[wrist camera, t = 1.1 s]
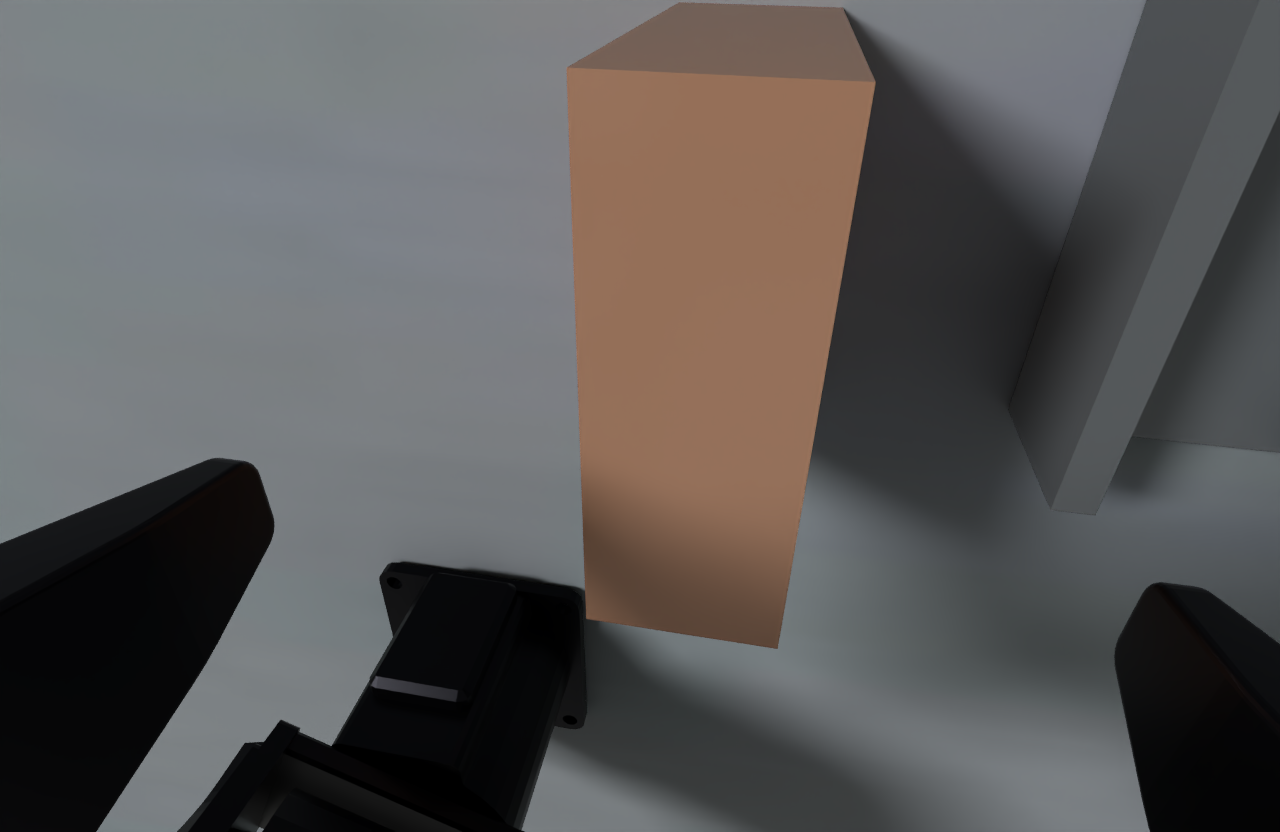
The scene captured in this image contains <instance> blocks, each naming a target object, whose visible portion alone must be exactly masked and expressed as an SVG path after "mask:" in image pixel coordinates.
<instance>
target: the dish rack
mask: <svg viewBox="0 0 1280 832" xmlns="http://www.w3.org/2000/svg"><path fill="white" fill-rule="evenodd" d="M1008 410H1009V413H1010V415H1011V418H1012V420H1013V422H1014V425H1015V427H1016V429H1017V432H1018V434H1019V437H1020V439H1021V441H1022V444H1023V446H1024V448H1025V451H1026V453H1027V456H1028V458H1029V460H1030V463H1031V465H1032V467H1033V470H1034V472H1035V475H1036V477H1037V479H1038V482H1039V484H1040V486H1041V489H1042V491H1043V494H1044V496H1045V498H1046V501H1047V503H1048V505H1049V508H1050V510H1055V511H1063V512H1071V513H1079V514H1087V515H1096V513H1097V511H1098V509H1099V506H1100V504H1101V502H1102V500H1103V498H1104V496H1105V493H1106V491H1107V489H1108V487H1109V485H1110V482H1111V480H1112V478H1113V476H1114V474H1115V471H1116V469H1117V467H1118V465H1119V463H1120V460H1121V458H1122V456H1123V454H1124V452H1125V449H1126V447H1127V445H1128V443H1129V441H1130V438H1131V437H1139V438H1149V439H1158V440H1167V441H1177V442H1186V443H1195V444H1205V445H1214V446H1223V447H1233V448H1242V449H1251V450H1260V451H1270V452H1279V453H1280V0H1147V1H1146V4H1145V7H1144V10H1143V13H1142V16H1141V19H1140V21H1139V24H1138V27H1137V30H1136V33H1135V36H1134V39H1133V42H1132V45H1131V48H1130V51H1129V54H1128V57H1127V60H1126V63H1125V66H1124V69H1123V72H1122V75H1121V78H1120V81H1119V84H1118V87H1117V90H1116V92H1115V95H1114V98H1113V101H1112V104H1111V107H1110V110H1109V113H1108V116H1107V119H1106V122H1105V125H1104V128H1103V131H1102V134H1101V137H1100V140H1099V143H1098V146H1097V149H1096V152H1095V155H1094V158H1093V161H1092V163H1091V166H1090V169H1089V172H1088V175H1087V178H1086V181H1085V184H1084V187H1083V190H1082V193H1081V196H1080V199H1079V202H1078V205H1077V208H1076V211H1075V214H1074V217H1073V220H1072V223H1071V226H1070V229H1069V232H1068V234H1067V237H1066V240H1065V243H1064V246H1063V249H1062V252H1061V255H1060V258H1059V261H1058V264H1057V267H1056V270H1055V273H1054V276H1053V279H1052V282H1051V285H1050V288H1049V291H1048V294H1047V297H1046V300H1045V303H1044V305H1043V308H1042V311H1041V314H1040V317H1039V320H1038V323H1037V326H1036V329H1035V332H1034V335H1033V338H1032V341H1031V344H1030V347H1029V350H1028V353H1027V356H1026V359H1025V362H1024V365H1023V368H1022V371H1021V374H1020V376H1019V379H1018V382H1017V385H1016V388H1015V391H1014V394H1013V397H1012V400H1011V403H1010V406H1009V409H1008Z"/></svg>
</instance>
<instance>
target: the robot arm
mask: <svg viewBox="0 0 1280 832" xmlns="http://www.w3.org/2000/svg"><path fill="white" fill-rule="evenodd" d="M273 533H274V518H273V514H272V511H271V508H270V505H269V502H268V499H267V496H266V493H265V490H264V486H263V483H262V480H261V477H260V474H259V472H258V470H257V469H256V468H255V467H254V465H253V464H251V463H249V462H246V461H240V460H232V459H225V458H213V459H209V460H206V461H204V462H201V463H199V464H196V465H194V466H191V467H189V468H186V469H184V470H181V471H179V472H177V473H174V474H172V475H169V476H167V477H164V478H162V479H159V480H157V481H154V482H152V483H149V484H147V485H144V486H142V487H139V488H137V489H135V490H132V491H130V492H127V493H125V494H122V495H120V496H117V497H115V498H112V499H110V500H107V501H105V502H102V503H100V504H97V505H95V506H92V507H90V508H88V509H85V510H83V511H80V512H78V513H75V514H73V515H70V516H68V517H65V518H63V519H60V520H58V521H55V522H53V523H50V524H48V525H46V526H43V527H41V528H38V529H36V530H33V531H31V532H28V533H26V534H23V535H21V536H18V537H16V538H13V539H11V540H8V541H6V542H4V543H1V544H0V832H96V831H97V830H98V828H99V827H100V825H101V824H102V822H103V821H104V819H105V818H106V816H107V815H108V813H109V812H110V810H111V809H112V807H113V805H114V804H115V802H116V801H117V799H118V798H119V796H120V795H121V793H122V792H123V790H124V789H125V787H126V786H127V784H128V783H129V781H130V780H131V778H132V777H133V775H134V774H135V772H136V770H137V769H138V767H139V766H140V764H141V763H142V761H143V760H144V758H145V757H146V755H147V754H148V752H149V751H150V749H151V748H152V746H153V745H154V743H155V742H156V740H157V739H158V737H159V736H160V734H161V732H162V731H163V729H164V728H165V726H166V725H167V723H168V722H169V720H170V719H171V717H172V716H173V714H174V713H175V711H176V710H177V708H178V707H179V705H180V704H181V702H182V701H183V699H184V697H185V696H186V694H187V693H188V691H189V690H190V688H191V687H192V685H193V684H194V682H195V681H196V679H197V677H198V676H199V674H200V673H201V671H202V669H203V668H204V666H205V665H206V663H207V661H208V659H209V658H210V656H211V654H212V652H213V650H214V649H215V647H216V645H217V643H218V642H219V640H220V638H221V636H222V634H223V632H224V630H225V628H226V626H227V624H228V623H229V621H230V619H231V617H232V615H233V613H234V611H235V609H236V607H237V605H238V604H239V602H240V600H241V598H242V596H243V594H244V592H245V590H246V588H247V586H248V584H249V583H250V581H251V579H252V577H253V575H254V573H255V571H256V569H257V567H258V565H259V564H260V562H261V560H262V558H263V556H264V554H265V552H266V550H267V548H268V546H269V545H270V542H271V540H272V537H273ZM380 585H381V589H382V593H383V597H384V601H385V605H386V609H387V613H388V617H389V621H390V625H391V630H392V634H393V638H392V640H391V642H390V644H389V645H388V647H387V649H386V650H385V652H384V654H383V656H382V657H381V659H380V661H379V663H378V664H377V666H376V668H375V669H374V671H373V673H372V675H371V676H370V680H369V682H368V684H367V686H366V687H365V689H364V691H363V693H362V694H361V696H360V698H359V700H358V701H357V703H356V705H355V706H354V708H353V710H352V712H351V713H350V715H349V717H348V719H347V720H346V722H345V724H344V725H343V727H342V729H341V731H340V732H339V734H338V736H337V738H336V739H335V741H334V743H333V744H332V746H330V745H328V744H325V743H323V742H321V741H319V740H316V739H314V738H312V737H309V736H307V735H305V734H303V733H300V732H299V731H300V728H299V727H297V726H294V725H292V724H290V723H288V722H285V721H283V720H280V721H279V723H278V724H277V725H276V727H275V728H274V729H273V731H272V732H271V733H270V735H269V736H268V737H267V739H266V740H265V741H264V742H254V743H245V744H244V745H243V746H242V748H241V749H240V751H239V752H238V754H237V755H236V757H235V758H234V760H233V761H232V762H231V764H230V765H229V767H228V768H227V770H226V771H225V773H224V774H223V776H222V777H221V778H220V780H219V781H218V783H217V784H216V785H215V787H214V788H213V790H212V791H211V793H210V794H209V795H208V796H207V798H206V799H205V800H204V802H203V803H202V804H201V805H200V807H199V808H198V809H197V810H196V811H195V813H194V814H193V815H192V816H191V817H190V818H189V819H188V820H187V821H186V823H185V824H184V825H183V826H182V827H181V828H180V829H179V830H178V831H177V832H256V831H257V830H258V828H259V827H261V828H263V829H264V830H263V831H262V832H524V831H522V827H523V823H524V820H525V817H526V814H527V811H528V807H529V804H530V801H531V798H532V795H533V792H534V788H535V785H536V782H537V779H538V776H539V773H540V769H541V766H542V763H543V760H544V757H545V753H546V750H547V747H548V744H549V741H550V738H551V734H552V731H553V728H554V726H558V727H563V728H569V729H578V728H581V727H582V726H583V725H584V721H585V718H586V714H587V702H586V676H585V650H584V624H583V601H582V598H581V596H580V595H579V594H578V593H577V592H575V591H574V590H572V589H569V588H564V587H557V586H551V585H544V584H537V583H530V582H524V581H517V580H510V579H504V578H497V577H490V576H484V575H477V574H470V573H464V572H457V571H450V570H443V569H437V568H430V567H423V566H417V565H410V564H403V563H390V564H388V565H387V566H386V568H385V569H384V571H383V572H382V574H381V575H380ZM563 603H564V604H563ZM565 604H567V605H565ZM1114 658H1115V669H1116V674H1117V679H1118V684H1119V689H1120V694H1121V699H1122V704H1123V708H1124V713H1125V718H1126V723H1127V728H1128V733H1129V738H1130V743H1131V748H1132V752H1133V757H1134V762H1135V767H1136V772H1137V777H1138V782H1139V787H1140V792H1141V797H1142V801H1143V805H1144V810H1145V814H1146V818H1147V822H1148V827H1149V830H1150V832H1280V644H1279V643H1278V642H1276V641H1275V640H1274V639H1272V638H1271V637H1270V636H1268V635H1267V634H1266V633H1264V632H1263V631H1262V630H1260V629H1259V628H1258V627H1256V626H1255V625H1254V624H1252V623H1251V622H1250V621H1248V620H1247V619H1246V618H1244V617H1243V616H1242V615H1240V614H1239V613H1238V612H1236V611H1235V610H1234V609H1232V608H1231V607H1230V606H1228V605H1227V604H1225V603H1224V602H1223V601H1221V600H1220V599H1219V598H1217V597H1216V596H1215V595H1213V594H1212V593H1210V592H1209V591H1207V590H1205V589H1202V588H1199V587H1194V586H1186V585H1179V584H1171V583H1163V582H1159V583H1154V584H1152V585H1150V586H1149V587H1147V588H1146V589H1145V591H1144V592H1143V594H1142V595H1141V597H1140V599H1139V601H1138V603H1137V605H1136V607H1135V608H1134V610H1133V612H1132V614H1131V616H1130V618H1129V620H1128V621H1127V623H1126V625H1125V627H1124V629H1123V631H1122V633H1121V634H1120V636H1119V638H1118V641H1117V644H1116V648H1115V655H1114Z"/></svg>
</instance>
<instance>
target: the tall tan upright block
mask: <svg viewBox="0 0 1280 832" xmlns="http://www.w3.org/2000/svg"><path fill="white" fill-rule="evenodd" d="M875 83H876V82H875V79H874V77H873V75H872V73H871V70H870V68H869V66H868V64H867V61H866V59H865V57H864V55H863V52H862V50H861V48H860V46H859V43H858V41H857V39H856V37H855V34H854V32H853V30H852V28H851V25H850V23H849V21H848V18H847V16H846V14H845V12H844V9H843V8H836V7H806V6H775V5H744V4H714V3H683V2H679V3H677V4H675V5H674V6H672V7H670V8H669V9H667V10H665V11H663V12H662V13H660V14H658V15H657V16H655V17H653V18H651V19H650V20H648V21H646V22H644V23H643V24H641V25H639V26H638V27H636V28H634V29H632V30H631V31H629V32H627V33H626V34H624V35H622V36H620V37H619V38H617V39H615V40H613V41H612V42H610V43H608V44H607V45H605V46H603V47H601V48H600V49H598V50H596V51H594V52H593V53H591V54H589V55H588V56H586V57H584V58H582V59H581V60H579V61H577V62H576V63H574V64H572V65H570V66H569V67H567V91H568V119H569V147H570V176H571V204H572V232H573V260H574V288H575V316H576V344H577V373H578V401H579V429H580V457H581V485H582V513H583V542H584V570H585V598H586V619H591V620H597V621H603V622H610V623H616V624H622V625H629V626H635V627H642V628H648V629H654V630H661V631H667V632H673V633H680V634H686V635H693V636H699V637H705V638H712V639H718V640H724V641H731V642H737V643H744V644H750V645H756V646H763V647H769V648H775V649H778V643H779V637H780V631H781V626H782V620H783V614H784V608H785V603H786V597H787V591H788V585H789V580H790V574H791V568H792V562H793V556H794V551H795V545H796V539H797V533H798V528H799V522H800V516H801V510H802V505H803V499H804V493H805V487H806V481H807V476H808V470H809V464H810V458H811V453H812V447H813V441H814V435H815V430H816V424H817V418H818V412H819V406H820V401H821V395H822V389H823V383H824V378H825V372H826V366H827V360H828V354H829V349H830V343H831V337H832V331H833V326H834V320H835V314H836V308H837V303H838V297H839V291H840V285H841V279H842V274H843V268H844V262H845V256H846V251H847V245H848V239H849V233H850V228H851V222H852V216H853V210H854V204H855V199H856V193H857V187H858V181H859V176H860V170H861V164H862V158H863V153H864V147H865V141H866V135H867V129H868V124H869V118H870V112H871V106H872V101H873V95H874V89H875Z"/></svg>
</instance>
